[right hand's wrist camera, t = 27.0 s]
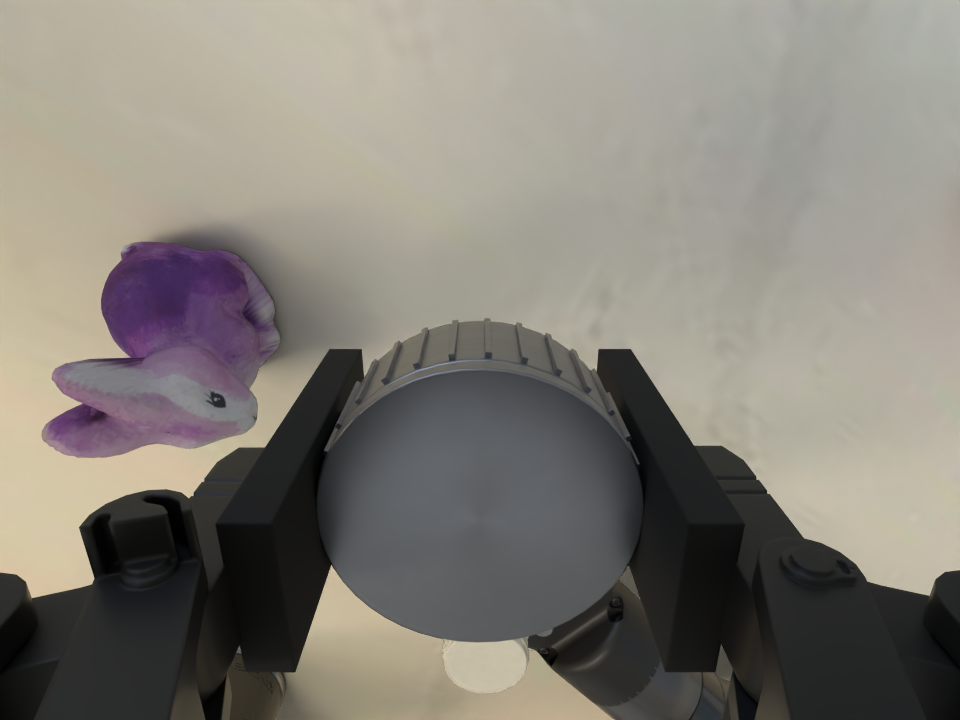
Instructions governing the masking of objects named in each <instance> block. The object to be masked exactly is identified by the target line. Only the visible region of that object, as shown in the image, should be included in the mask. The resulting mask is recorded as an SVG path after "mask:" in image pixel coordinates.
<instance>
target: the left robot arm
mask: <svg viewBox="0 0 960 720" xmlns="http://www.w3.org/2000/svg"><path fill="white" fill-rule="evenodd" d="M628 566H629V564H628ZM528 648H531V649H534V650H536V651H537V652H538V653H539V654H540V655H541V656H542V658H543V659H544V660H545V661H546V663H547V664H548V665H549V666H550V667H551V668H552V669H553V670H554V671H555V672H556V673H557V674H559V675H560V676H561V677H562V678H563V679H565V680H566V681H567V682H568V683H570V684H571V685H572V686H573V687H575V688H576V689H577V690H578V691H579V692H581V693H582V694H583V695H584V696H586V697H587V698H588V699H589V700H591V701H592V702H593V703H594V704H596V705H597V706H598V707H599V708H600V709H602V710H603V711H604V712H605V713H607V714H608V715H609V716H610V717H612V718H613V719H614V720H722V717H723V713H724V708H725V704H726V699H727V694H728V690H729V685H730V681H727V680H724V679H722V678H720V677H718V676H717V675H716V674H715V673H714V672H665V670H664V667H663V664H662V661H661V658H660V655H659V652H658V649H657V646H656V643H655V640H654V637H653V634H652V631H651V628H650V625H649V623H648V620H647V617H646V614H645V611H644V608H643V605H642V602H641V600H640V599H639V598H638V597H637V596H636V595H635V594H633V593H632V592H631V591H630V590H629V589H628V588H627V587H626V586H625V585H624V584H623V583H622V582H620V581H619V580H618V581H617V582H616V583H615V584H614V586H613V587H612V588H611V589H610V590H609V591H608V592H607V593H606V594H605V595H604V596H603V597H602V598H601V599H600V600H599V601H597V602H596V603H595V604H594V605H592V606H591V607H590V608H588V609H587V610H586V611H584V612H583V613H581V614H579V615H578V616H576V617H575V618H573V619H571V620H570V621H568V622H565V623H563V624H561V625H559V626H557V627H555V628H553V629H550V630H547V631H544V632H541V633H538V634H535V635H532V636H529V637H528ZM228 676H229V681H230V686H231V693H232V700H231V709H230V719H229V720H275V717H276V714H277V711H278V710H279V708H280V706H281V703H282V701H283V698H284V694H285V681H284V677H283V675H282V673H281V672H245V669H244V664H243V659H242V654H241V649H240V646H239V648H238V650H237V652H236V654H235V657H234V659H233V661H232V663H231V665H230V668H229V670H228Z"/></svg>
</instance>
